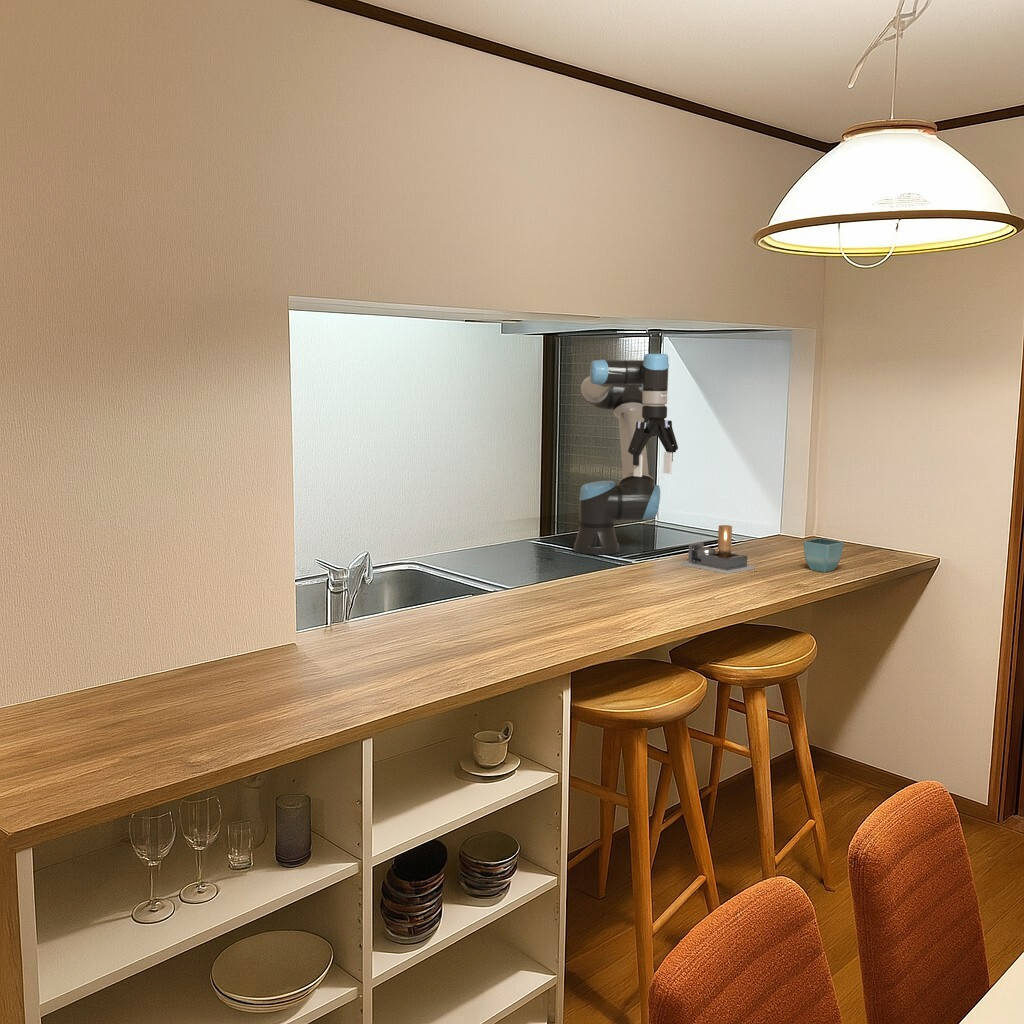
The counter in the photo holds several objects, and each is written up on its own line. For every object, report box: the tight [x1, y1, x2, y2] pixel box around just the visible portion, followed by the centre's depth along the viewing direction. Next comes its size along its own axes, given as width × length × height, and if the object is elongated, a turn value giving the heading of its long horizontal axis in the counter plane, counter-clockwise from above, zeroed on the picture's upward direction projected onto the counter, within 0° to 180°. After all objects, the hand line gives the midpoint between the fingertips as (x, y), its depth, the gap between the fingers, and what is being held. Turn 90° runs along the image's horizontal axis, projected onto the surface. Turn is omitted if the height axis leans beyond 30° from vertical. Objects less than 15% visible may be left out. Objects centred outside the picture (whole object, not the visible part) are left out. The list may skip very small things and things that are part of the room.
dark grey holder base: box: [680, 541, 755, 575], centre depth 301 cm, size 18×13×6 cm
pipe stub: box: [717, 524, 733, 558], centre depth 299 cm, size 4×4×12 cm
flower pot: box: [803, 537, 845, 573], centre depth 296 cm, size 9×9×9 cm
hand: (652, 474), depth 299 cm, fingers open, 13 cm apart
